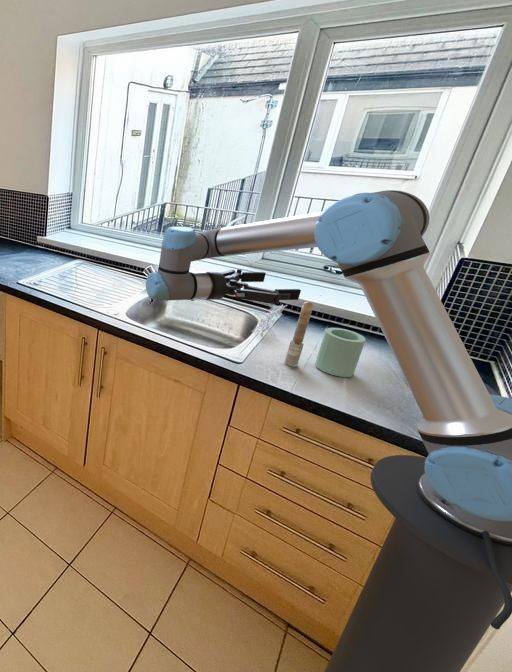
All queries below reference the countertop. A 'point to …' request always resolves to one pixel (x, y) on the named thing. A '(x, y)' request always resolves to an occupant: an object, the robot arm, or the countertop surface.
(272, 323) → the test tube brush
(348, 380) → the countertop surface
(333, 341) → the mint green pipe segment
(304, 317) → the brush
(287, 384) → the countertop surface
